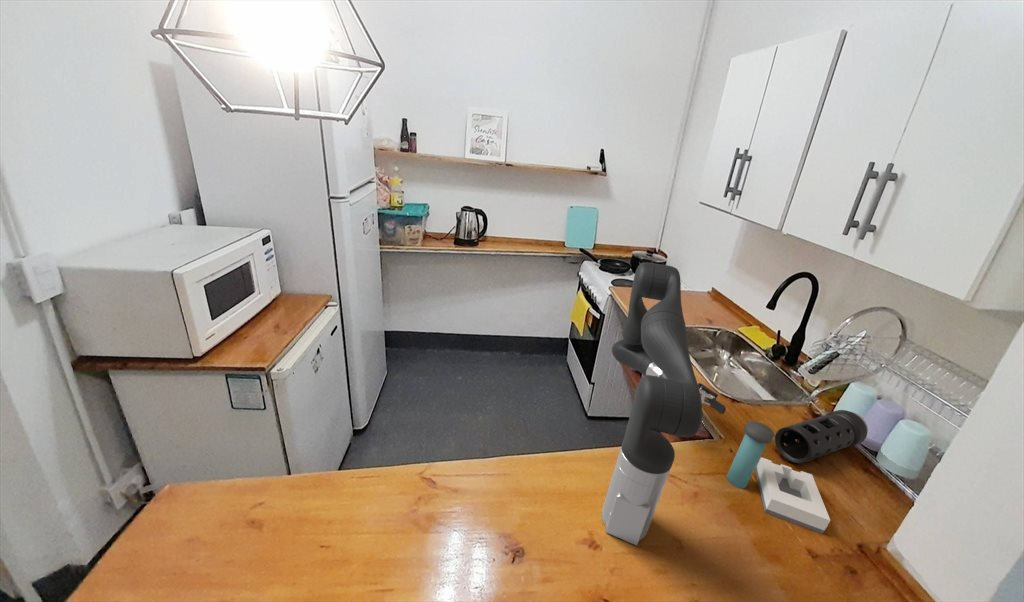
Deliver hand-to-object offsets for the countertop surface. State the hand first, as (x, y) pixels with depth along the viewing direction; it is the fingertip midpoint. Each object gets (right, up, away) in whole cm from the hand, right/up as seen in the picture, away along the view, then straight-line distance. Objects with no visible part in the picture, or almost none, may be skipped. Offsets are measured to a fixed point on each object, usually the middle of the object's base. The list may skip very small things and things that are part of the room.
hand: (712, 414), depth 101 cm
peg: (+3, -15, -5) cm, 16 cm away
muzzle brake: (+33, -13, +10) cm, 37 cm away
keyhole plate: (+13, -17, -9) cm, 23 cm away
